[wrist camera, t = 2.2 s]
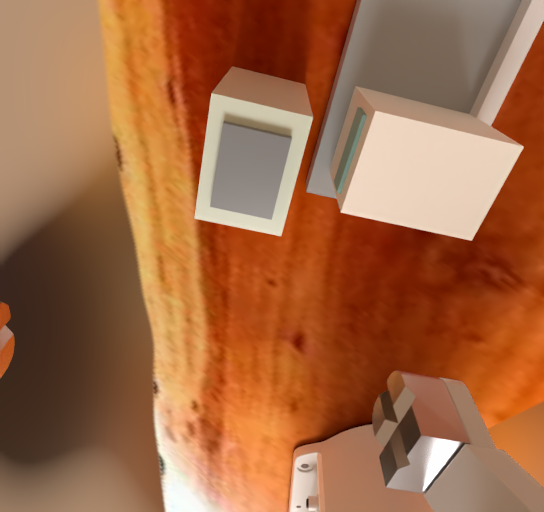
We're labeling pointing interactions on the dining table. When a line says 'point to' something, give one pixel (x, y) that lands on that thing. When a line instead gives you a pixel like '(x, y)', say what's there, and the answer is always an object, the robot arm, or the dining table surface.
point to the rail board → (411, 59)
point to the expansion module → (253, 150)
